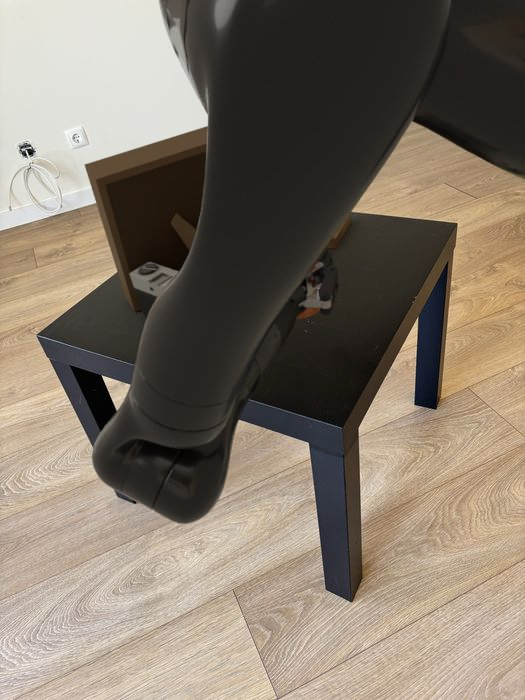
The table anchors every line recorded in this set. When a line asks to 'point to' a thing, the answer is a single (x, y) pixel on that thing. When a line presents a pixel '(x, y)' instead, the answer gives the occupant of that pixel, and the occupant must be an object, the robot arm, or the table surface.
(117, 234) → the photo frame
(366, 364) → the table surface
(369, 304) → the table surface
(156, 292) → the camera
